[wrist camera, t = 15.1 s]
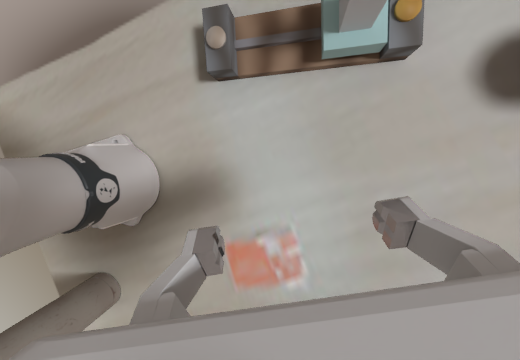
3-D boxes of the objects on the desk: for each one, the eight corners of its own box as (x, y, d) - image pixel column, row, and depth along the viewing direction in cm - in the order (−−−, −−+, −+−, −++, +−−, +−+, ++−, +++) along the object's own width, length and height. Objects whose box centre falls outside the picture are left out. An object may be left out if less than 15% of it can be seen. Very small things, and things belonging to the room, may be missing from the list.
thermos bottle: (122, 306, 51) (-87, 491, 23) (93, 301, 52) (-136, 470, 25) (119, 274, 49) (-104, 430, 22) (89, 270, 51) (-155, 411, 24)
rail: (218, 81, 39) (205, 70, 34) (214, 26, 38) (200, 6, 32) (404, 59, 33) (424, 42, 28) (407, -6, 32) (428, -37, 27)
